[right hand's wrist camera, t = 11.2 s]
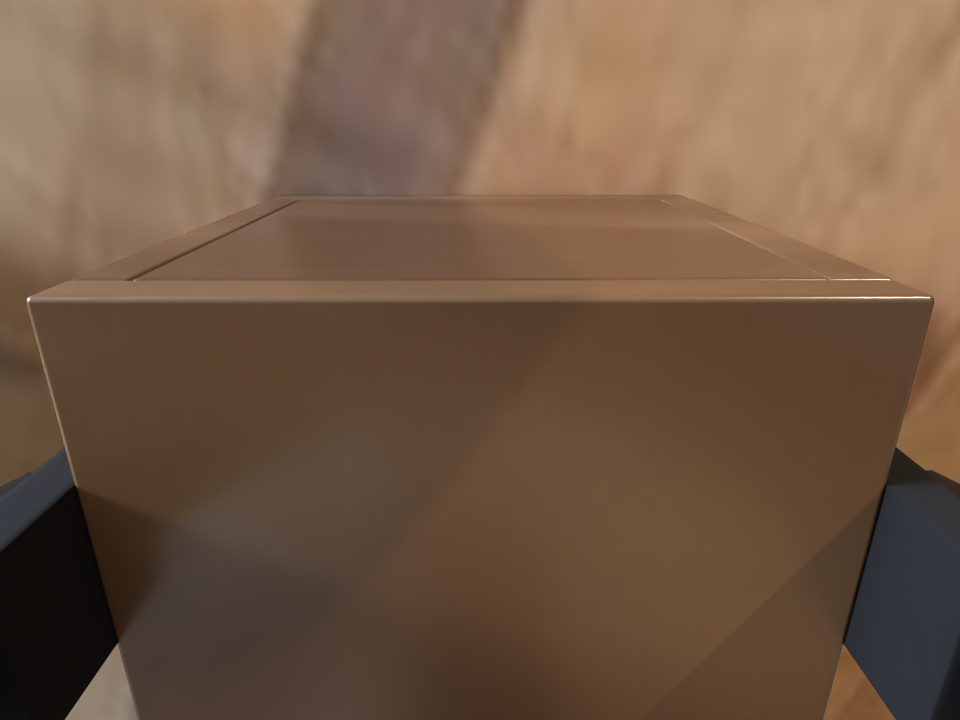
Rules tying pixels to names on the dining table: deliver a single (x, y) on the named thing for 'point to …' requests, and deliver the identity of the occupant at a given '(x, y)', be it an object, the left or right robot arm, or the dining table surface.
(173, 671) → the cabinet
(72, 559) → the right robot arm
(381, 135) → the dining table surface
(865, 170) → the dining table surface
